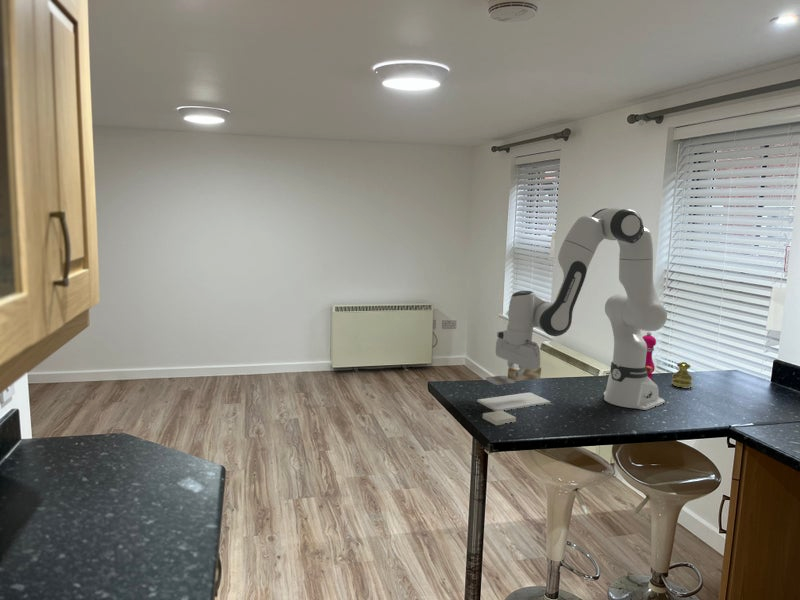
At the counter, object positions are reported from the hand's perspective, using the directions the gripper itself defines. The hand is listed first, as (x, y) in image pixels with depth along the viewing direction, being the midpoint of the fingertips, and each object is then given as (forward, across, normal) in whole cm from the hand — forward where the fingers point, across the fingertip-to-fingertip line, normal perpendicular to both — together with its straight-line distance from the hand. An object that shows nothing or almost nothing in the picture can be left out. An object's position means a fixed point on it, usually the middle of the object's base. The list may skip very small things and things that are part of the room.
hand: (515, 375), depth 207 cm
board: (+10, 0, 0) cm, 10 cm away
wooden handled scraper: (+2, 0, 0) cm, 2 cm away
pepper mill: (+10, +6, -75) cm, 76 cm away
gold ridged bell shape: (+10, -8, -80) cm, 81 cm away
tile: (+10, -12, +12) cm, 19 cm away
